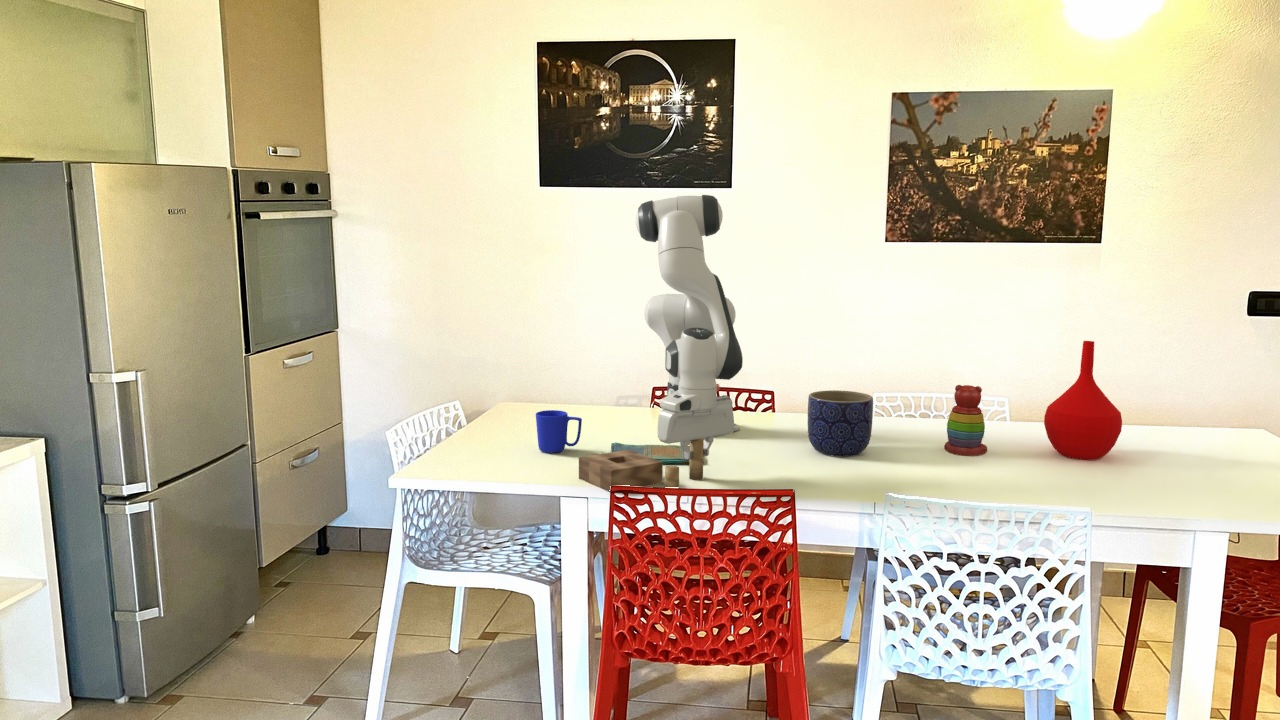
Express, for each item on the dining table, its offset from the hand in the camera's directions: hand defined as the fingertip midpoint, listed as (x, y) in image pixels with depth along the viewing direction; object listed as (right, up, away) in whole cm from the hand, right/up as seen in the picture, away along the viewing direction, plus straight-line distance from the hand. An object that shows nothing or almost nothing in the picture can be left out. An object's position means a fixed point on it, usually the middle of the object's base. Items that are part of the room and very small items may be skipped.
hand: (696, 457), depth 227 cm
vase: (+101, -2, +25) cm, 104 cm away
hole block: (-18, -5, -2) cm, 19 cm away
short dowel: (-6, -6, -8) cm, 12 cm away
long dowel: (0, -5, +1) cm, 5 cm away
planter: (+39, -2, +27) cm, 47 cm away
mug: (-34, -1, +26) cm, 43 cm away
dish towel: (-9, -3, +21) cm, 23 cm away
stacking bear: (+72, -2, +28) cm, 77 cm away
